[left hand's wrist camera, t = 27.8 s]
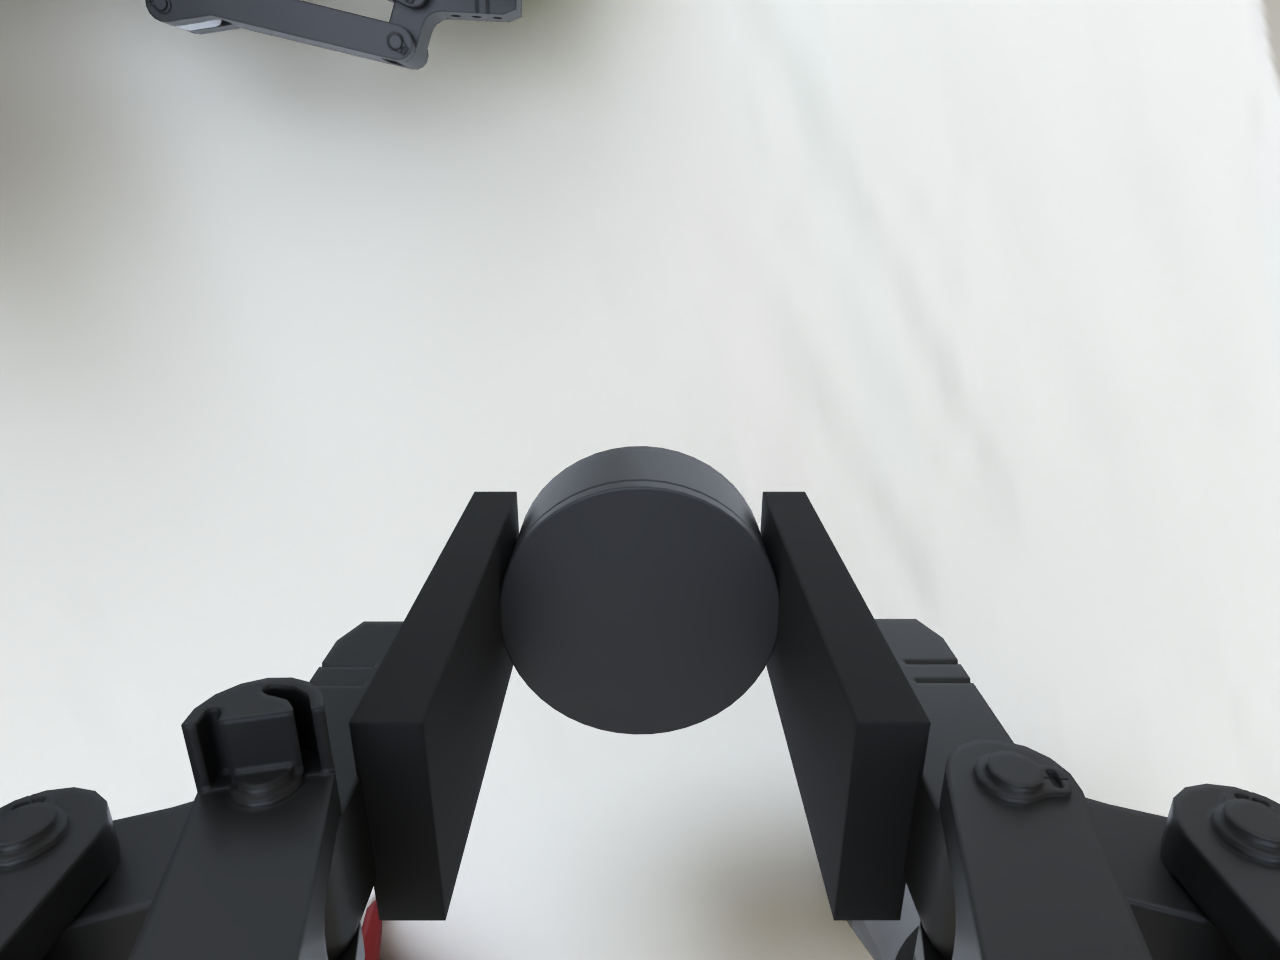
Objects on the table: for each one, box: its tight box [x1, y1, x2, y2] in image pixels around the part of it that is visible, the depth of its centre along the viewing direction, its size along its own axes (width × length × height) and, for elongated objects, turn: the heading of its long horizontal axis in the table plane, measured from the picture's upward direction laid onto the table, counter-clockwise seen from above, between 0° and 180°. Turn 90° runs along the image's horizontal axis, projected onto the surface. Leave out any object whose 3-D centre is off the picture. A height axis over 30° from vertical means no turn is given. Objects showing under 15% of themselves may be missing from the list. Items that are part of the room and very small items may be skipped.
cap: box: [500, 446, 779, 734], centre depth 13 cm, size 4×4×2 cm
